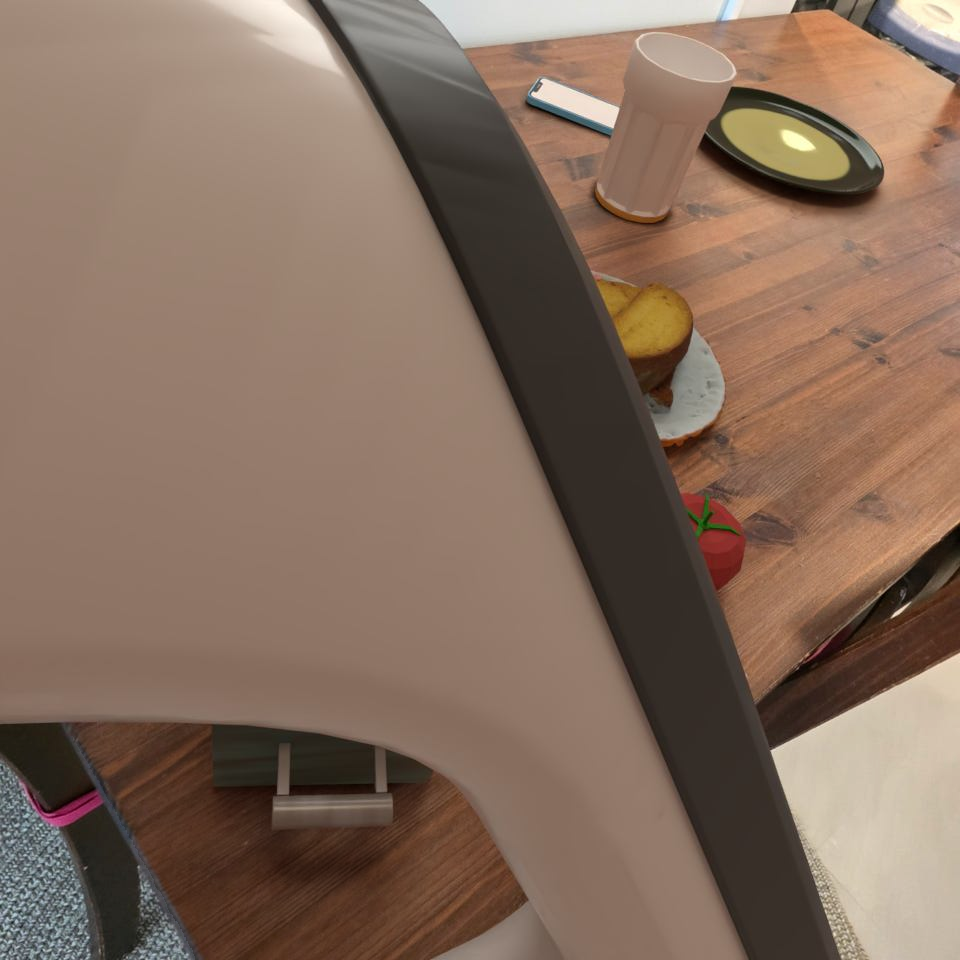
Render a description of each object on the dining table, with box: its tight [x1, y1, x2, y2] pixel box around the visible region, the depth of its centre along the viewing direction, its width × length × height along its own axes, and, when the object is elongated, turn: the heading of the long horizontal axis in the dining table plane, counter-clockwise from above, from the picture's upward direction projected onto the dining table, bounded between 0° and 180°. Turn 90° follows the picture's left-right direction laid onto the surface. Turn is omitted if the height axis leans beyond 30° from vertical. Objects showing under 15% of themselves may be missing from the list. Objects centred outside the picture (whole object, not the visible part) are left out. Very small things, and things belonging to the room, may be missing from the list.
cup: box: [594, 31, 738, 224], centre depth 100 cm, size 11×11×17 cm
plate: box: [704, 85, 885, 196], centre depth 124 cm, size 28×28×2 cm
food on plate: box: [590, 269, 727, 448], centre depth 82 cm, size 25×25×7 cm
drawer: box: [210, 724, 435, 831], centre depth 51 cm, size 18×12×9 cm
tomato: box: [680, 492, 747, 592], centre depth 66 cm, size 8×8×8 cm
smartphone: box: [525, 76, 621, 137], centre depth 119 cm, size 8×1×15 cm
